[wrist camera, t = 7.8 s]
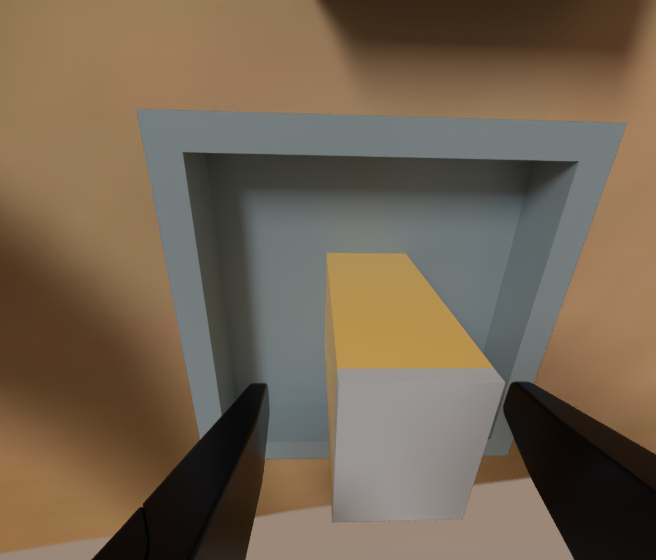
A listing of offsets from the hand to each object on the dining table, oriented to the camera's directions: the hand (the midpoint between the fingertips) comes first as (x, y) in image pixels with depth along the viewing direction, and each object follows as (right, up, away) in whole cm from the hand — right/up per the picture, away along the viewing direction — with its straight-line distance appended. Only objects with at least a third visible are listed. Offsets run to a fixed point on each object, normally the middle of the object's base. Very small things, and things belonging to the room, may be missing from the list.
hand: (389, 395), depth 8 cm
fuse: (0, +2, +5) cm, 5 cm away
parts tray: (0, +2, +5) cm, 6 cm away
